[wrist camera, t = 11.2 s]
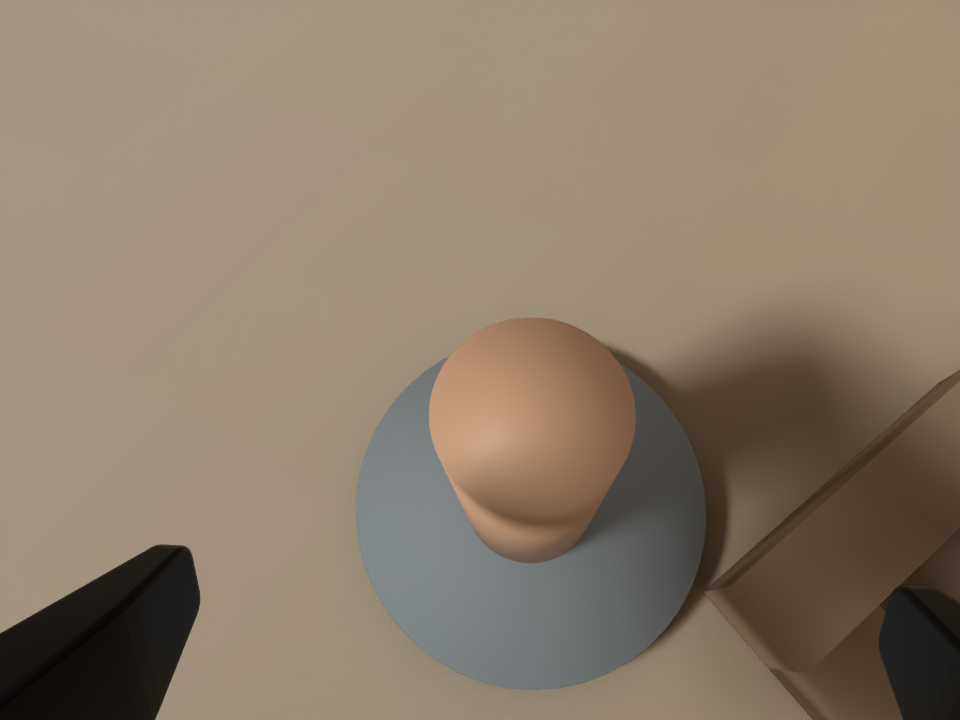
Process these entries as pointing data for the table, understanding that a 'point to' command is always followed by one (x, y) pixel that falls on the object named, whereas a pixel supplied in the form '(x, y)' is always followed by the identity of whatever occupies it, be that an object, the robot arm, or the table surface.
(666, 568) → the slate mat
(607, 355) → the post
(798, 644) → the pocket block
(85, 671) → the robot arm
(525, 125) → the table surface
